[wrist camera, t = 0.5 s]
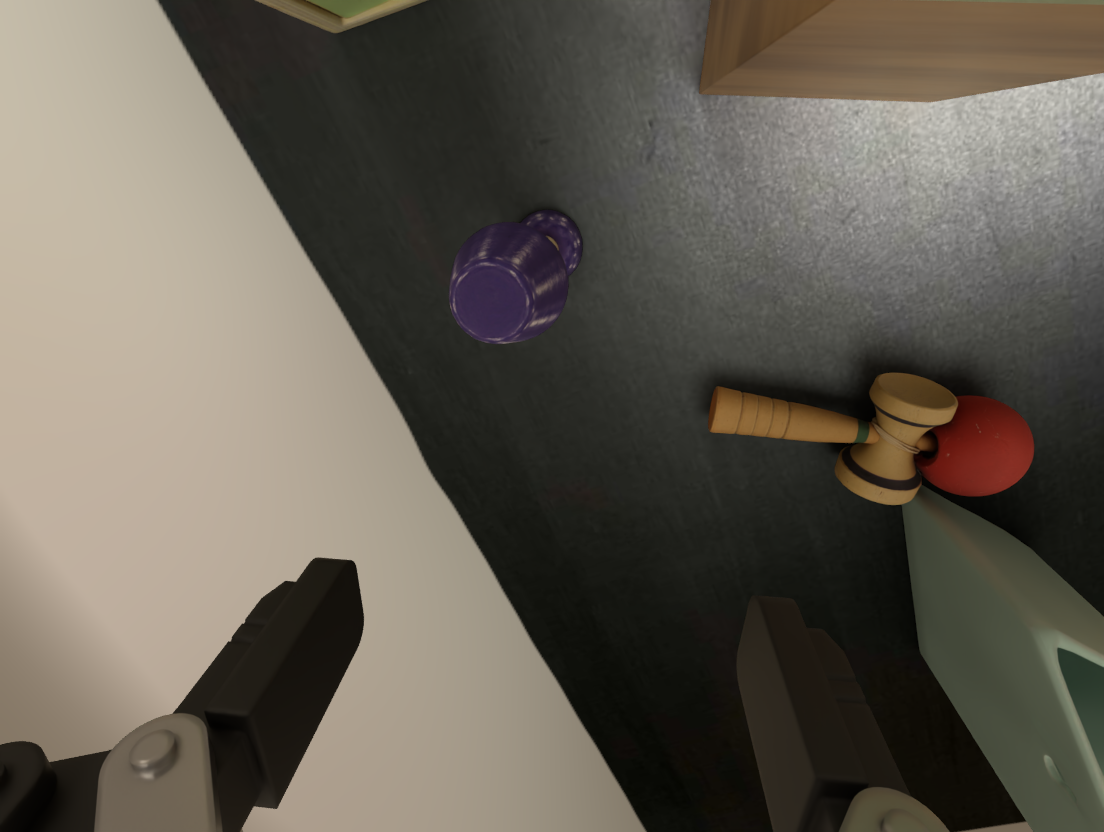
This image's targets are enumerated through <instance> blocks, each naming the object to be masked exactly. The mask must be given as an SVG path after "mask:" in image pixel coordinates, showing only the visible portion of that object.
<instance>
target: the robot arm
mask: <svg viewBox="0 0 1104 832" xmlns="http://www.w3.org/2000/svg"><path fill="white" fill-rule="evenodd" d="M363 626H364V613H363V607H362V600H361V594H360V588H359V581H358V574H357V568H356V565H355V563H354V562H353V561H352V560H341V559H329V558H315V559H313V560H312V561H311V562H310V563H309V565H308V566H307V567H306V569H305V570H304V572H303V573H302V574H301V576H300V577H299V578H298V580H297V581H296V582H291V581H285V582H283V583H282V584H281V585H279V586H278V587H276V588H275V589H274V590H272V591H271V592H270V593H268V594H267V595H265V596H264V597H263V598H261V600H260V601H259V602H258V604H257V605H256V606H255V608H254V609H253V610H252V611H251V613H250V614H249V615H248V617H247V618H246V620H245V623H244V624H242V625H241V626H240V627H239V628H238V630H237V631H236V632H235V634H234V635H233V636H232V640H231V642H228V643H227V644H226V645H225V647H224V648H223V649H222V651H221V652H220V653H219V654H218V656H217V657H216V658H215V660H214V661H213V662H212V664H211V665H210V666H209V667H208V669H207V670H206V671H205V673H204V674H203V675H202V677H201V678H200V679H199V680H198V682H197V683H196V684H195V686H194V687H193V688H192V690H191V691H190V692H189V694H188V695H187V696H186V698H185V699H184V700H183V701H182V703H181V704H180V705H179V706H178V708H177V709H176V710H175V711H174V712H173V714H170V715H165V716H162V717H159V718H156V719H153V720H151V721H149V722H147V723H145V724H143V725H141V726H139V727H138V728H136V729H135V730H133V731H132V732H131V733H129V734H128V735H127V736H125V737H124V738H123V739H122V740H121V741H120V742H119V743H118V744H117V745H116V746H115V747H114V748H113V749H112V750H109V751H104V752H99V753H95V754H89V755H84V756H79V757H74V758H69V759H64V760H59V761H54V762H49V761H48V759H47V757H46V756H45V754H44V752H43V750H42V749H41V747H39V746H38V745H37V744H34V743H32V742H26V741H19V742H11V743H6V744H2V745H0V832H243V831H242V827H243V825H244V823H245V821H246V819H247V817H248V816H249V814H250V812H251V810H252V808H253V807H254V806H256V807H265V808H273V809H277V808H278V806H279V804H280V802H281V800H282V798H283V796H284V794H285V792H286V790H287V788H288V786H289V784H290V782H291V780H292V777H293V776H294V774H295V772H296V770H297V768H298V766H299V764H300V762H301V760H302V758H303V756H304V754H305V752H306V750H307V748H308V746H309V744H310V742H311V740H312V738H313V736H314V734H315V732H316V730H317V728H318V726H319V724H320V722H321V720H322V718H323V716H324V714H325V712H326V710H327V708H328V706H329V704H330V702H331V700H332V698H333V696H334V694H335V692H336V690H337V688H338V686H339V684H340V682H341V680H342V678H343V676H344V674H345V672H346V670H347V668H348V666H349V664H350V662H351V660H352V658H353V656H354V654H355V652H356V650H357V648H358V646H359V643H360V640H361V637H362V633H363ZM737 677H738V684H739V688H740V693H741V697H742V701H743V705H744V710H745V714H746V718H747V722H748V726H749V731H750V735H751V739H752V743H753V747H754V752H755V756H756V760H757V764H758V769H759V773H760V777H761V781H762V785H763V790H764V794H765V798H766V802H767V806H768V811H769V815H770V819H771V823H772V828H773V832H949V830H948V829H947V828H946V827H945V825H944V824H943V823H942V822H941V821H940V820H939V818H938V817H937V816H936V815H935V814H934V813H932V812H931V811H930V810H929V809H928V808H927V807H925V806H924V805H923V804H921V803H920V802H918V801H917V800H915V799H914V798H912V797H911V795H910V793H909V791H908V789H907V788H906V786H905V783H904V781H903V779H902V777H901V775H900V773H899V770H898V768H897V766H896V764H895V762H894V760H893V757H892V755H891V753H890V751H889V749H888V746H887V744H886V742H885V740H884V738H883V736H882V733H881V731H880V729H879V727H878V725H877V723H876V720H875V718H874V716H873V714H872V712H871V710H870V707H869V705H866V699H865V696H864V694H863V692H862V690H861V688H860V686H859V683H856V677H855V675H854V673H853V670H852V668H851V666H850V664H849V662H848V660H847V657H846V655H845V653H844V652H843V650H842V649H841V648H840V647H839V646H838V645H837V644H836V643H835V642H834V641H833V640H832V639H831V638H830V637H829V635H828V634H827V633H826V632H825V631H824V630H823V629H814V628H806V626H805V623H804V621H803V618H802V616H801V613H800V611H799V608H798V606H797V604H796V602H795V601H794V600H793V599H791V598H779V597H767V596H755V595H754V596H752V597H751V599H750V601H749V605H748V609H747V613H746V618H745V622H744V626H743V631H742V635H741V639H740V644H739V648H738V654H737Z"/></svg>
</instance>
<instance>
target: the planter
mask: <svg viewBox="0 0 1104 832" xmlns="http://www.w3.org/2000/svg"><path fill="white" fill-rule="evenodd" d="M901 505H902V513H903V521H904V529H905V537H906V545H907V554H908V562H909V570H910V579H911V587H912V594H913V602H914V610H915V619H916V627H917V635H918V643H919V650H920V653H921V654H922V656H923V658H924V659H925V661H926V662H927V664H928V666H929V667H930V669H931V670H932V672H933V674H934V675H935V677H936V678H937V680H938V682H939V683H940V685H941V686H942V688H943V689H944V691H945V693H946V694H947V696H948V697H949V699H950V701H951V702H952V704H953V705H954V707H955V709H956V710H957V712H958V713H959V715H960V717H961V718H962V720H963V721H964V723H965V725H966V726H967V728H968V729H969V731H970V732H971V734H972V736H973V737H974V739H975V740H976V742H977V744H978V745H979V747H980V748H981V750H982V752H983V753H984V755H985V756H986V758H987V759H988V761H989V763H990V764H991V766H992V767H993V769H994V771H995V772H996V774H997V775H998V777H999V779H1000V780H1001V782H1002V783H1003V785H1004V786H1005V788H1006V790H1007V791H1008V793H1009V794H1010V796H1011V798H1012V799H1013V801H1014V802H1015V804H1016V806H1017V807H1018V809H1019V810H1020V812H1021V813H1022V815H1023V816H1024V818H1025V819H1026V821H1027V823H1028V824H1029V826H1030V827H1031V829H1032V830H1033V832H1104V617H1103V616H1102V615H1101V614H1100V613H1099V612H1098V611H1097V610H1096V609H1095V608H1094V607H1092V606H1091V605H1090V604H1089V603H1088V602H1087V601H1086V600H1085V599H1084V598H1083V597H1082V596H1081V595H1080V594H1078V593H1077V592H1076V591H1075V590H1074V589H1073V588H1072V587H1071V586H1070V585H1069V584H1068V583H1067V582H1066V581H1064V580H1063V579H1062V578H1061V577H1060V576H1059V575H1058V574H1057V573H1056V572H1055V571H1054V570H1053V569H1052V568H1050V567H1049V566H1048V565H1047V564H1046V563H1045V562H1044V561H1043V560H1042V559H1041V558H1040V557H1039V556H1038V555H1037V554H1036V553H1035V552H1034V551H1033V550H1032V549H1031V548H1029V547H1028V546H1026V545H1025V544H1023V543H1022V542H1021V541H1019V540H1018V539H1016V538H1015V537H1013V536H1012V535H1010V534H1009V533H1008V532H1006V531H1005V530H1003V529H1001V528H999V527H997V526H996V525H994V524H992V523H990V522H988V521H987V520H985V519H983V518H981V517H979V516H977V515H975V514H973V513H972V512H970V511H968V510H966V509H964V508H962V507H960V506H958V505H956V504H954V503H952V502H950V501H949V500H947V499H945V498H943V497H942V496H940V495H938V494H937V493H935V492H933V491H931V490H930V489H928V488H926V487H925V486H923V485H921V486H920V488H919V489H918V491H917V493H916V494H915V496H914V498H913V499H912V500H911V501H909V502H907V503H905V504H901Z"/></svg>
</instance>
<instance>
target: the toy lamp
mask: <svg viewBox="0 0 1104 832" xmlns="http://www.w3.org/2000/svg"><path fill="white" fill-rule="evenodd" d="M582 245H583V243H582V237H581V234H580V232H579V229H578V227H577V226H576V224H575V223H574V222H573V221H572V220H571V219H570V218H569V217H568V216H566V215H565V214H562V213H560V212H558V211H554V210H541V211H537V212H535V213H532V214H530V215H528V216H527V217H526V218H525V219H524V220H523V221H522V222H521V223H516V222H502V223H496V224H492V225H489V226H486V227H484V228H482V229H480V230H479V231H478V232H476V233H475V234H473V235H472V236H471V237H470V238H468V240H467V241H466V242H465V243H464V244H463V245H462V247H461V248H460V250H459V252H458V254H457V256H456V258H455V261H454V264H453V268H452V273H451V278H450V288H449V302H450V307H451V311H452V314H453V316H454V318H455V319H456V321H457V323H458V324H459V325H460V327H461V328H462V329H463V330H464V331H465V332H466V333H467V334H469V335H470V336H472V337H473V338H475V339H477V340H480V341H483V342H486V343H492V344H503V343H512V342H519V341H524V340H527V339H531V338H533V337H535V336H538V335H540V334H541V333H543V332H544V331H545V330H547V329H548V328H549V327H550V326H551V325H552V324H553V323H554V322H555V321H556V320H557V318H558V317H559V315H560V313H561V312H562V310H563V308H564V305H565V302H566V299H567V294H568V287H569V285H568V276H569V275H570V274H571V273H572V272H573V271H574V270H575V269H576V268H577V266H578V264H579V262H580V260H581V256H582V250H583V249H582Z"/></svg>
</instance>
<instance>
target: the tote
mask: <svg viewBox="0 0 1104 832" xmlns="http://www.w3.org/2000/svg"><path fill="white" fill-rule="evenodd" d="M921 1H963V2H1006V3H1049V4H1091V5H1104V0H921Z"/></svg>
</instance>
